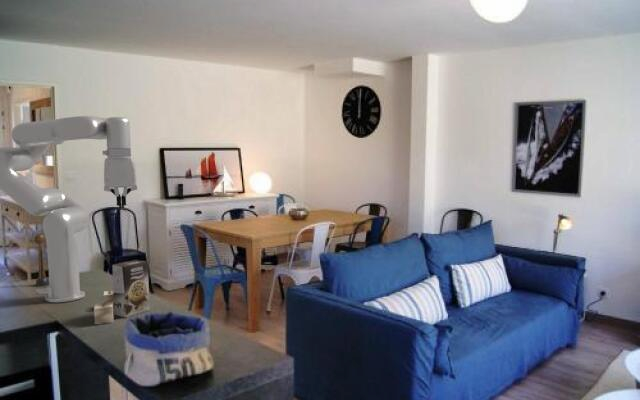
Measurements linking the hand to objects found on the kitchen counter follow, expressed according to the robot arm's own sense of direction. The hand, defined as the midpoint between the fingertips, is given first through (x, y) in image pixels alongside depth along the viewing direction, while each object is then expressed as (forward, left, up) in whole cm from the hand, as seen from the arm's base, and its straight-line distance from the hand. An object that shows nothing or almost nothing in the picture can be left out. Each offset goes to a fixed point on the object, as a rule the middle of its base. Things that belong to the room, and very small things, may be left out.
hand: (121, 207), depth 178 cm
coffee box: (+2, -17, -32) cm, 37 cm away
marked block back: (-4, -8, -32) cm, 33 cm away
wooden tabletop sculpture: (-31, +34, -32) cm, 56 cm away
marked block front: (-6, -23, -32) cm, 40 cm away
